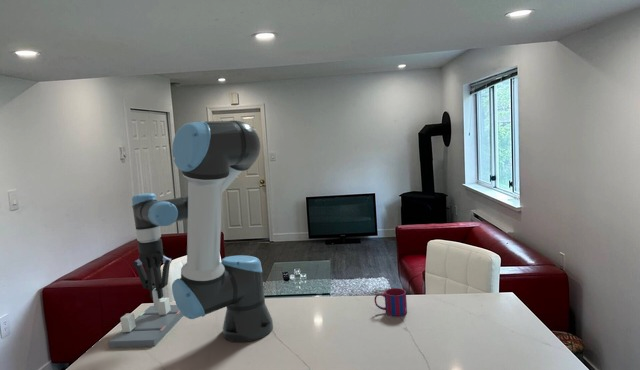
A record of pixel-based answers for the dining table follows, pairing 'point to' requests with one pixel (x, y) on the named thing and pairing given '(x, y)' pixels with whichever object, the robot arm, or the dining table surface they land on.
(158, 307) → the block
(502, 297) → the dining table surface
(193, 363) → the dining table surface
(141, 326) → the breaker panel
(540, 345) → the dining table surface
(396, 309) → the mug
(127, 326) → the block
